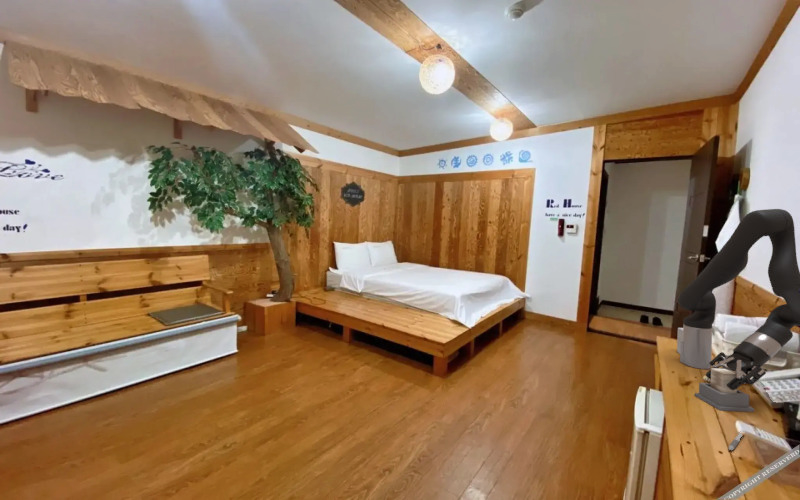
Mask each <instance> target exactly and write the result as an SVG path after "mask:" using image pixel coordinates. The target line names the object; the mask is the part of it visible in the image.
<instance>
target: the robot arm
mask: <svg viewBox="0 0 800 500" xmlns="http://www.w3.org/2000/svg"><path fill="white" fill-rule="evenodd" d="M795 231H796V230H795V222H794V219H793V216H792V214H791V213H790V212H789V211H787V210H785V209H781V208H772V209H771V208H769V209H758V210H757V209H756V210H752V211H750V212H749V213H747V214H746V215H745V216H744V217H743V218H742V219H741V220H740V222H739V223H738V225H737V227H736V228H735V230H734V231H733V233H732V235H731V236H730V237H729V238H728V240H727V241H726V242H725V244H723V246H722V247H721V248H720V249H719V251H718V252H717V253H716V254H715V255H714V256H713V258H712V259H711V260H709V262H708V264H707V265H706V267H705V268H704V269H703V270H702V271H701V272H700V273H699V274H698V275H697V276H696V277H695V278H694V280H692V282H690V283H689V284H688V285H687V286H686V287H685V288H684V289H683V290H682V291H681V292H680V293H679V295H678V299H677V301H678V302H677V303H678V305H679V307H680V308H682V309H683V310H686V311H692V312H693V313H692V314H690V315H688V316H685V317H684V318H683V320H682V321H683V323H682V324H683V326H682V328H683V341H681V345H680V354H679V355H680V356H679V357H680V358H679V361H680V363H682V364H684V365H686V366H688V367H692V368H696V369H700V370H701V369H702V370H708V371H707V372H706V373H705V377H707V378H708V380H711V368H719V369H727V370H729V371H732V372H736V374H737V378H734V379H732V380H731V381H730V382H729V383H728V384H727V387H728V388H729V389H731V390H735V389H738V388H740V386H742V385H743V384H744V385H746V384H749V385H754V384H755V383H757V381H759V380H760V379H761V378H762V377H763V376H765V375H766V374H767V373H766V371H765V370H764V369H763V368H762V366H763V365H765V364H766V363H767V362H769V361H770V359H772V358H773V357H774V356H775V355H776V354H777V353H778V352H779V351H780V350H781V348H783V347H784V346H785V345H786V344H787V343H788V342H790V341H791V340H792V338H793V336H794V334H793V332H792V331H791V329H792V328H793V327H795V326H796V327H797V326H799V327H800V293H799V289H800V268H799V264H798V259H797V257H798V256H797V247H796V246H797V245H796V232H795ZM763 237H768V238H769V240H770V242H771V247H772V250H771V251H772V252H771V257H770V260H769V263H768V267H767V268H768V269H767V275H768V279H769V283H770V286H771V290H772V292H773V294H774V295H775V296H776V297H779V298H783V300H784V301H785V304H784V303H783V304H780V305H778V306H777V307H775V308H774V309H772V311H770V313H769V315H768V316H767V318H766V319H765V322H764V323H763V325H761V326H760V327H758V328H757V329H756V330H755V331H754V332H753V333H751V334H750V335H748V336H747V337H746V338H744V339H743V340H742V341H741V342H740V343H739V344H738V345H737V346H735V348H733V352H732V354H730V355H727V354H725V353H724V352H723V351H721V352H719V353H718V354H717V355H716V356H715V357H714V358H713V359H712V353H713V351H712V350H713V349H712V348H713V347H712V345H713V343H712V342H713V341H712V340H713V334H712V333H713V324H714V322H715V320H716V310H717V299H716V296H715V295H714V293H713V292H712V291H713V290H715V289H717V288H719V287H721V286H723V285H726V284H728V283H729V282H731V281H733V280H734V279H736V278H737V277H738V275H740V274H741V273H742V271H743V270H744V269H745V268H747V264H748V262H749V252H750V250H751V248H752V247H753V246H754V245H755V244H756V243H757V242H758V241H759V240H760V239H762V238H763Z"/></svg>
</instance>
